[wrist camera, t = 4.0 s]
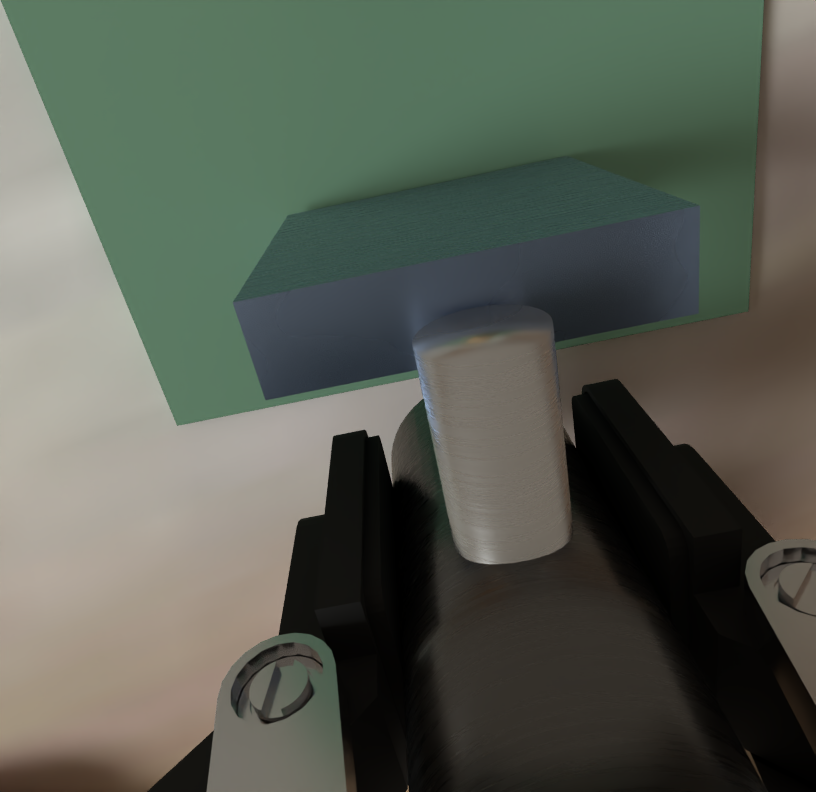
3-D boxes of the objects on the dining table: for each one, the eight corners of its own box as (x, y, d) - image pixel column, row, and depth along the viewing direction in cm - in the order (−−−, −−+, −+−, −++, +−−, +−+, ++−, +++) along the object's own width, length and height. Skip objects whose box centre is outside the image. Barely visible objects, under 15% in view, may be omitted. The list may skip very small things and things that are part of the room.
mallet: (566, 155, 11) (1095, 351, 3) (615, 784, 19) (792, 1294, 11) (288, 215, 11) (74, 549, 3) (452, 812, 19) (510, 1333, 11)
